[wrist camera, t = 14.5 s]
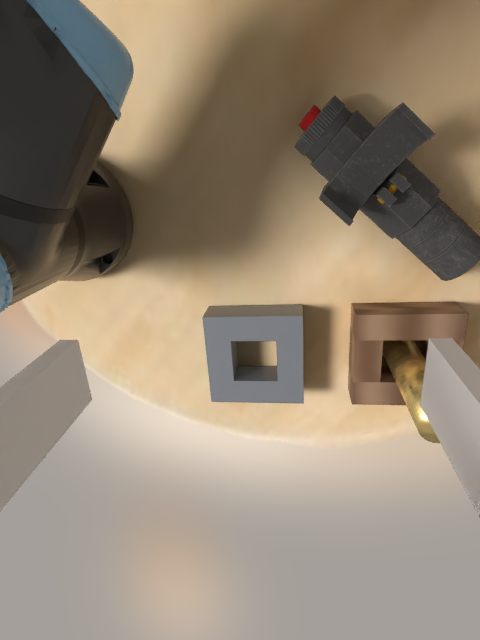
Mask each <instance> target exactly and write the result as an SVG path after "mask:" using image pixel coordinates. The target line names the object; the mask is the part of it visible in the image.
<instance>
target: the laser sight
mask: <svg viewBox="0 0 480 640" xmlns="http://www.w3.org/2000/svg"><path fill="white" fill-rule="evenodd" d="M344 106H345V105H344V104H343V103H342V102H341V101H340V100H339V99H338V98H337V97H336V96H334V97H333V98H332V99H331V100H330V101H329V103H328V104H327V105H326V106H325V107H324V109H323V110H322V111H321V110H319V109H318V108H317V107H316V106H315V105H314V106H313V107H312V108H311V110H310V111H309V112H308V113H307V115H306V116H305V117H304V119H303V120H302V121H301V123H300V124H299V126H300V127H301V128H302V129H304V130H305V133H304V134H303V135H302V137H301V138H300V139H299V140H298V142H297V143H296V145H295V146H294V147H295V148H296V149H297V150H298V151H300V152H301V153H302V154H303V155H306V156H307V157H308V158H309V159H310V160H311V161H312V163H311V164H310V165H311V166H313V167H314V168H315V169H316V170H317V171H318V172H319V173H320V174H321V175H322V176H324V177H325V178H326V179H327V180H328V181H329V182H328V183H327V185H326V186H325V187H324V189H323V191H322V193H321V195H320V197H319V199H320V200H321V201H322V202H323V203H324V204H325V205H326V206H327V207H329V208H330V209H331V210H332V211H333V212H334V213H335V214H336V215H337V216H339V217H340V218H341V219H342V220H343V221H344V222H345V223H346V224H347V225H349V226H350V225H351V224H352V223H353V222H354V221H353V218H354V216H355V214H356V213H357V211H358V210H359V209H360V210H361V211H362V212H363V213H364V214H365V215H366V216H367V217H368V218H370V219H371V220H372V221H373V222H374V223H375V224H376V225H377V226H378V227H379V228H381V229H382V230H383V231H384V232H385V233H386V234H387V235H388V236H390V237H391V238H392V239H393V238H395V237H396V238H397V239H398V240H399V241H400V242H401V243H402V244H403V245H404V246H405V247H406V248H408V249H409V250H410V251H411V252H412V253H413V254H414V255H415V256H416V257H417V258H418V259H419V260H421V261H422V262H423V263H424V264H425V265H426V266H427V267H429V268H430V269H431V270H432V271H433V272H434V273H435V274H436V275H437V276H438V277H439V278H440V279H441V280H444V281H447V280H452V279H455V278H457V277H459V276H461V275H462V274H464V273H466V272H467V271H468V270H470V269H471V268H472V267H473V266H474V265H475V264H476V263H477V262H478V261H479V260H480V236H479V235H478V234H477V233H475V232H474V231H473V230H472V229H471V228H470V227H469V226H468V225H467V224H466V223H465V222H464V221H463V220H462V219H461V218H460V217H459V216H458V215H457V214H456V213H455V212H454V211H453V210H452V209H451V208H450V207H449V206H447V204H445V203H444V202H443V201H442V200H441V199H440V198H439V197H438V194H439V192H440V190H439V189H438V188H437V187H436V186H435V185H434V184H433V183H432V182H431V181H430V180H428V179H427V178H426V177H425V176H424V175H423V174H422V173H421V172H420V171H419V170H418V169H417V168H416V167H415V166H414V165H413V164H412V163H411V162H410V161H409V160H408V159H407V158H406V157H407V156H409V155H410V154H411V153H412V152H413V151H414V150H415V149H416V148H417V147H419V146H420V145H421V144H423V143H424V142H425V141H427V140H428V139H429V140H430V139H431V138H432V137H433V136H434V135H435V133H434V132H433V131H432V130H431V129H430V128H428V127H427V126H426V125H425V124H424V123H423V122H422V121H421V120H420V119H419V118H418V117H417V116H416V115H415V114H414V113H413V112H412V111H411V110H410V109H409V108H408V107H407V106H406V105H405V104H404V103H402V104H400V105H399V106H398V107H397V108H395V109H394V110H393V111H392V112H391V113H389V114H388V115H387V116H386V117H385V118H384V119H383V120H382V121H381V122H380V123H379V125H378V126H377V127H376V128H374V127H373V126H372V125H371V124H370V123H369V122H368V121H367V120H366V119H365V118H364V117H363V116H362V115H361V114H360V113H359V112H358V111H357V110H356V111H355V112H354V113H353V114H351V113H350V112H349V111H348V110H347V109H346V108H345V107H344Z"/></svg>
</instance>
